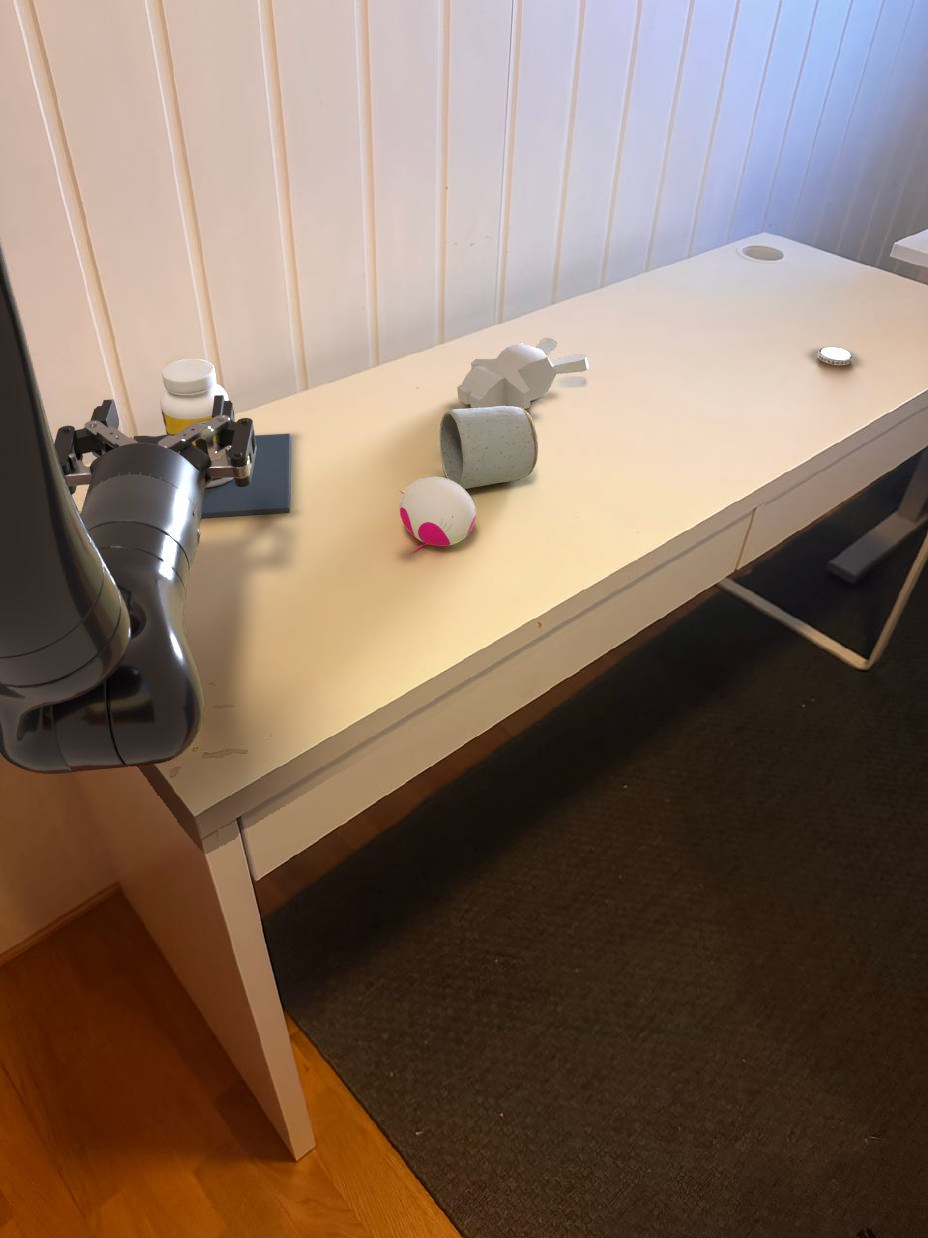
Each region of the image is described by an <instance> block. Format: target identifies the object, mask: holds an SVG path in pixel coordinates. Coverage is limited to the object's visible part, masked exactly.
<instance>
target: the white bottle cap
mask: <svg viewBox="0 0 928 1238" xmlns="http://www.w3.org/2000/svg"><path fill="white" fill-rule="evenodd" d="M817 358H818V359H819V360H820V361H822V362H823V363H826V364H829V365H834V366H845V365H849V364H850V363H851V362H852V360H853V353H852V352H850V351H849V350H847V349H845V348H841V347H838V346H824V347H821V348H820V349H819V350H818V352H817Z"/></svg>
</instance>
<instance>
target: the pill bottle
mask: <svg viewBox="0 0 928 1238" xmlns="http://www.w3.org/2000/svg"><path fill="white" fill-rule="evenodd" d="M161 378H162V382H163V386H164V388H165V391H164V392H163V393H162V394H161V397H160V400H159V401H160V402H159V404H160V405H159V406H160V410H161V415H162V416H161V417H162V420H163V424H164V428H165V433H166V435H169V434H177V433H179V432H180V431H182V430H184V429H185V428H187V427H188V426H190V425H192V424H193V423H196V422H197V423H200V424H204V423H206V422H207V421H209V420H210V419H212V410H213V403H214V396H215V395H224V398H225V401H230V400H229V397H228V394H227V391H226V390H225V389H224V388H223V387H222V386H221V385H219V384H217V375H216V369H215V367H214V365H213V363H211V362H210V361H208V360H205V359H202V358H183V359H178V360H174V361H172V362H170V363H168V364H166V365H165V366H164V367H163V369H162V370H161ZM215 441H216V437H215V435H214V437H213V442H215ZM192 444H193V445H195V442H193V443H192ZM195 446H196V445H195ZM224 454H225V453H224ZM221 456H222V455H221ZM221 456H220V457H218V459H220V458H221ZM218 459H217V460H218ZM232 479H233V477H232V478H213V480H212V481H211V482H210V483H209V484H208V485H207V486H206V487H205V488H209V487H215V486H219V485H222V484H225V483H227V482H229V481H230V480H232Z"/></svg>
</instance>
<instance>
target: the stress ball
mask: <svg viewBox="0 0 928 1238" xmlns="http://www.w3.org/2000/svg"><path fill="white" fill-rule="evenodd" d="M399 491H400V493H401V494H402V495H401V497H400V501H399V515H400V519H401V521H402V524H403V525H404V527H405V528H406V530H407V531H408V533H410V534H411V535H412V536H413V537H414V538H416V539H417V540H419V541H420V542H422V543H421V544H420V545H419V546H417V547H416V548H415V549H413V550H412V551H411V552H409V553H408V555H411V554H412V553H414V552H415V551H417V550H419V549H420V548H422V547H424V546H426V545H430V546H436V547H447V546H453V545H456V544H458V543H460V542H461V541H463V540H464V539H466V538H467V537H468V536H469V535H470V533H471V532H472V531H473V529H474V526H475V523H476V519H477V511H476V506H475V503H474V500H473V499H472V496H471V495H470V494H469V492H468V491H467V490H466V489H464V488H463V487H462V486H460V485H459V484H457V483H456V482H454V481H452V480H450V479H447V477H442V476H436V475H435V476H434V475H433V476H425V477H421V478H419V479H417V480H415V481H413V482H412V483H410V484H409V485H408V486H407V487H406V488H405V490H404V491H401V490H399Z"/></svg>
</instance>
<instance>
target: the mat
mask: <svg viewBox="0 0 928 1238" xmlns="http://www.w3.org/2000/svg"><path fill="white" fill-rule="evenodd" d="M291 439H292V438H291V433H274V434H273V433H272V434H257V435H256V434H255V440H256V447H257V450H256V456H255V461H254V467H253V472H252V478H251V483H250V484H249V485H248V486H246V487H237V486H235V484H234V480H233V479H232V480H230V481H229V482H227V483H225V484H222V485H219V486H215V487H209V488H205V491H204V499H203V506H202V514H201V519H209V518H224V517H227V518H228V517H240V516H241V517H243V516H256V515H257V516H258V515H271V514H284V513H285V514H286V513H290V508H291V503H290V502H291V443H292V442H291V441H292V440H291Z"/></svg>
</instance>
